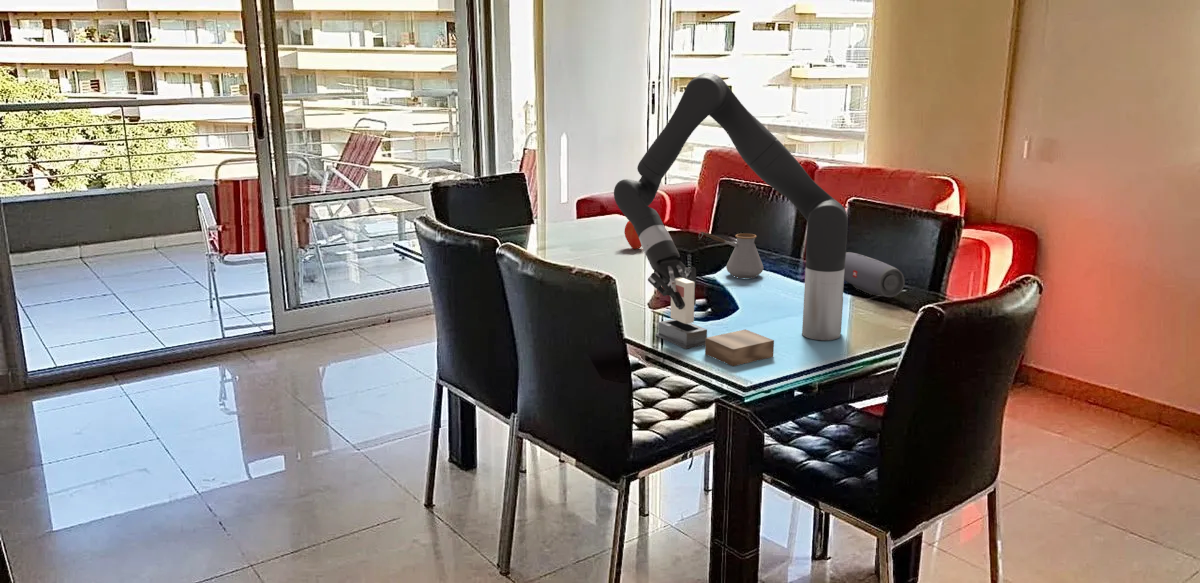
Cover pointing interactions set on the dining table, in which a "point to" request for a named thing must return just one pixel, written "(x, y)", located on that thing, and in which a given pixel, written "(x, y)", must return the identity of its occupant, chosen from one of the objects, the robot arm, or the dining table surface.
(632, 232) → the apple
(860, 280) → the bluetooth speaker
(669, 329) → the grey box
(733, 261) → the coffee pot
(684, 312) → the white box
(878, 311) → the dining table surface
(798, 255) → the dining table surface
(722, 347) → the brown wooden block
